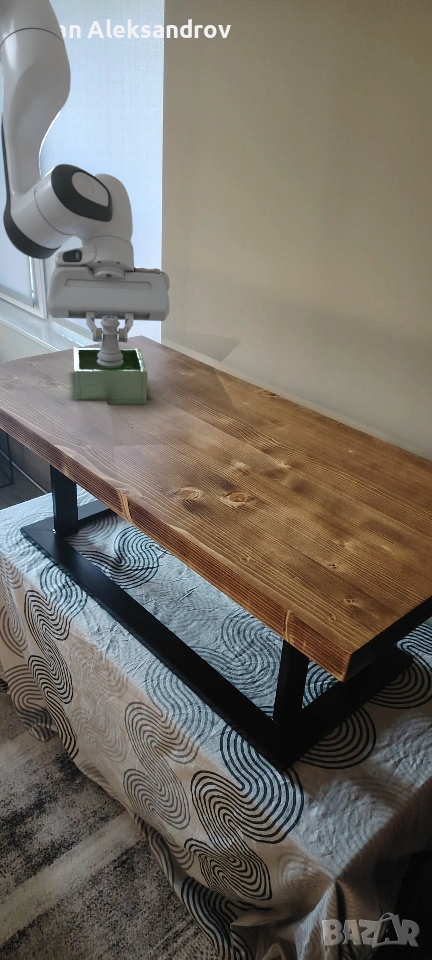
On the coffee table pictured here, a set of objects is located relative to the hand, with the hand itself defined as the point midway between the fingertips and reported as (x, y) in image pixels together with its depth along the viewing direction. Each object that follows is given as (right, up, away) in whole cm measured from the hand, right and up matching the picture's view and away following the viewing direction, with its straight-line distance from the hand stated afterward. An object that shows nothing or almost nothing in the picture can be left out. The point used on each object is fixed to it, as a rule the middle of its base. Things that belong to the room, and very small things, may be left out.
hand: (110, 340), depth 103 cm
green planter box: (-1, -8, +5) cm, 9 cm away
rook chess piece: (0, -4, +3) cm, 5 cm away
